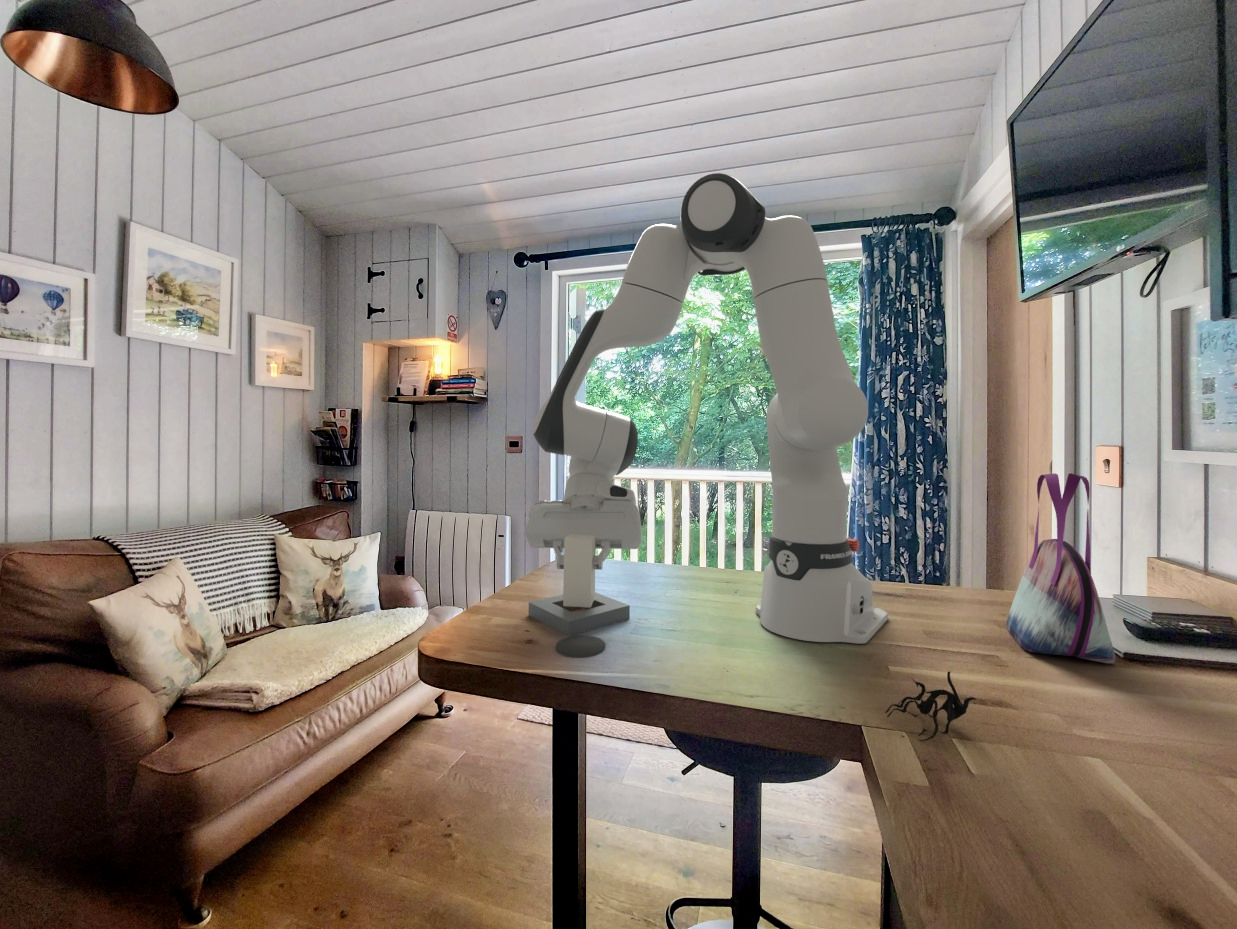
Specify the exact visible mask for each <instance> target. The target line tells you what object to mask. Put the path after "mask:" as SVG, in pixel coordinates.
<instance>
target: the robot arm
mask: <svg viewBox="0 0 1237 929" xmlns="http://www.w3.org/2000/svg"><path fill="white" fill-rule="evenodd" d="M679 216H680V217H679V219H680V224H679V225H673V224H669V223H659V224H654V225H651V226H649V227H647V228H646V229H645V230H644V231H643V232H642V234H641V236H640V237H639V239H638V242H637V243H636V246H635V247H634V249H633V251H632V254H631V257H630V259H629V260H628V263H627V266H626V269H625V271H624V273H623V277H622V279H621V280H622V281H621V284H620V287H619V288H618V291H617V293H616V295H615V296H614V298H613V299H612V301H611V302H610V303H609V304H608V305H607V306H606V307H605V308H601V309H596V310H595V311H594V312H593V313H592V314H591V315H590V317H589V318H588V319H587V321H586V323H585V325H584V326H583V328H582V331H581V332H580V334H579V336H578V338H577V340H576V342H575V343H574V345H573V347H572V350H571V351H570V353H569V355H568V358H567V360H566V361H565V363H564V366H563V368H562V370H561V371H560V373H559V376H558V378H557V380H556V383H555V384H554V386H553V388H552V390H551V392H550V394H549V396H548V397H547V399H546V400H545V402H544V403H543V404H542V405H541V407H540V409H539V410H538V412H537V414H536V417H535V420H534V424H533V437H534V439H535V440H536V442H537V444H538V445H539V446H540V448H541V449H542V450H543V451H544V452H545V453H549V454H550V453H551V454H555V455H560V456H564V455H565V456H569V457H570V459H569V466H568V472H569V477H568V478H567V480H566V484H565V490H564V496H563V500H539V502H536V503H534V504H532V505H531V506H530V508H529V511H528V512H529V513H528V520H527V522H526V524H525V525H526V526H525V529H524V531H523V532H524V533H523V534H524V539H525V542H526V543H527V545H528V546H529V547H530V548H531V549H553V551H554V554H555V556H556V558H557V559H556V568H557V570H564V554H562V553H564V538H566V537H567V536H568V535H569V534H573V535H595V540H596V549H598V550H599V549H601V551H600V552H599V553H598V555H595V556H593V569H595V571H597V570H603V565H604V562H605V560H607V558H608V557H609V555H610V554H611V551H612V550H614V549H615V550H618V549H620V550H637V549H639V548H640V547H641V545H642V544H643V534H642V523H641V515H640V510H639V508H638V506H637V500H636V495H635V492H634V490H633V489H631V488H630V487H629V488H628V487H624V486H622V485H621V486H620V485H616V484H613V479H614V477H615V476H618V475H620V474H622V473H623V472H624V471H625V470H627V469H628V468H629V467H630V466H631V464H632V463H633V462H634V459H635V457H636V454H637V449H638V439H639V432H638V429H637V427H636V424H635V422H634V421H633V419H632V418H631V417H629V416H626V415H623V414H621V413H617V412H614V411H610V410H606V409H603V408H602V409H601V408H599V407H594V406H592V405H590V404H589V405H588V404H585V403H582V402H579V401H578V400H577V399H576V396H577V393H579V390H580V387H581V386H582V384H583V381H584V379H585V378H586V375H587V374H588V371H589V370H590V368H591V366H592V364H593V362H594V361H595V359H596V358H597V357H598V356H599V355H600V354H601V353H604V352H606V351H609V350H613V349H620V348H637V347H638V348H639V347H646V346H650V345H654V344H656V343H659V342H661V341H663V340H664V339H666V338H667V337H668V336H669V335H670V334H671V333H672V331H673V329H674V328H675V326H676V324H677V322H678V319H679V317H680V314H681V311H682V309H683V305H684V303H685V302H684V301H685V299H686V297H687V293H688V291H689V290H688V289H689V286H690V284H691V282H692V280H693V279H694V278H695V276H696V275H697V274H699V275H700V276H703V277H705V276H717V275H718V276H723V275H725V276H726V275H736V274H738V273H741V272H743V271H745V270H746V272H747V275H748V277H749V282H750V285H751V292H752V298H753V299H752V301H753V304H754V310H755V316H756V317H755V318H756V321H757V322H756V323H757V328H758V335H759V341H760V345H761V351H762V353H763V355H764V356H765V358H766V361H767V364H768V366H769V370H770V372H771V373H770V374H771V376H772V378H773V379H772V380H773V382H774V386H775V389H776V394H774V396H773V397H772V398H771V400H770V402H769V403H768V407H767V410H766V416H765V421H766V427H767V429H766V430H767V431H766V432H767V448H768V457H769V468H770V473H771V485H772V505H771V506H772V508H771V509H772V513H771V514H772V519H771V524H772V525H771V527H772V528H771V535H770V536H769V541H768V546H767V548H768V558H769V559H770V562H769V563H768V564H766V565H765V567H764V568H763V569H764V570H763V579H762V589H761V596H760V598H761V599H760V604H756V606H755V613H756V614H757V615H758V616H759V617H760V618H759V622H760V624H761V625H762V626H763V627H764V628H765V629H766V630H768V631H770V632H772V633H775V634H777V635H780V636H783V637H787V638H790V639H795V640H800V641H804V642H805V641H806V642H814V643H815V642H816V643H851V644H861V645H862V644H863V645H864V644H866V643H868V642H869V641H870V639H872V637H873V636H874V635H875V634H876V633H877V632H878V630H880V629H881V628H882V626H884V624H885V623H886V622H887V621H888V619H889V614H888V612H887V611H885V610H884V609H882V608H879V607H876V606H874V605H873V586H872V583H871V581H870V580H868V579H867V577H866V576H864V575H863V574H862V572H860V571H859V569H857V567H856V566H855V565H854V564H853V563H852V562H853V561H854V560H853V554H852V552H854V553H857V552H858V551H859V549H860V547H859V546H860V542H859V540H858V539H855V538H852V539H850V538H849V537H847V526H848V525H847V519H848V518H847V516H848V489H847V485H846V483H845V480H844V478H843V473H842V467H841V464H840V457H839V451H838V448H840V447H843V446H845V445H846V444H848V443H850V442H851V441H853V440H854V439H855V438H856V437H857V436H858V435H859V434H860V433H861V432H862V430H863V429H864V427H865V426H866V423H867V420H868V417H869V403H868V400H867V398H866V395H865V393H864V392H863V390H862V389H861V388H860V386H859V385H858V384H857V383H856V381H855V379H854V376H853V373H852V371H851V368H850V365H849V364H848V361H847V358H846V356H845V352H844V351H843V348H842V344H841V343H840V342H841V341H840V339H839V335H838V333H837V332H838V331H837V329H836V327H837V326H836V324H835V323H836V322H835V318H834V316H835V315H834V312H833V306H832V300H831V295H830V288H829V282H828V277H827V272H826V266H825V263H824V259H823V256H822V253H821V249H820V245H819V243H818V240H817V238H816V237H817V236H816V235H815V232H814V229H813V228H812V226H811V224H810V223H809V222H808V221H807V220H806V219H804V218H803V217H800V216H798V215H797V216H796V215H782V216H778V217H774V218H767V217H766V209H765V206H764V205H763V204H762V203H761V202H760V201H759V200H758V199H757V198H756V197H755V196H754V195H753V193H752V192H751V191H750V190H749V189H748V188H747V187H746V186H745V185H744V184H743V183H742V182H740V180H738V179H737V178H735V177H733V176H732V175H728V174H727V173H726V174H725V173H721V172H717V173H716V172H715V173H711V174H710V173H709V174H706V175H704V176H702V177H701V178H698V179H697V180H696V181H695V182H694V183H693V184H692V185H691V186H690V187H689V189H687V192H686V193H685V195H684V197H683V199H682V201H681V206H680V215H679Z"/></svg>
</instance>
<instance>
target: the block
mask: <svg viewBox="0 0 1237 929" xmlns="http://www.w3.org/2000/svg"><path fill="white" fill-rule="evenodd" d="M596 553H597V550H596V540H595V535H573V534H569V535H568V536H567V537H566V538H564V548H563V555H564V569H563V586H562V588H563V592H562V595H563V606H570V607H589V608H591V606H592V604H593V602H594V600H595V592H596V569H593V556H597V555H596Z"/></svg>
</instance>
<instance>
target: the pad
mask: <svg viewBox="0 0 1237 929" xmlns="http://www.w3.org/2000/svg"><path fill="white" fill-rule="evenodd" d="M555 644H556V645H555V650H556V652H557V653H559V654H560V655H562V656H564V657H565V656H566V657H570V658H587V657H593V656H596V655H599V654H601V653H602V652H604V651H605V649H606V642H605V641H604V640H603V639H602V638H600V637H596V636H593V635H584V634H583V635H571V636H567V637H565V638H562V639H560V640H558V642H557V643H555Z"/></svg>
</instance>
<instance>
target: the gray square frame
mask: <svg viewBox="0 0 1237 929" xmlns="http://www.w3.org/2000/svg"><path fill="white" fill-rule="evenodd" d="M630 612H631V611H630V604H628V603H625V602H622V601H619V600H617V599H613V598H611V597H608V596H606V595H604V594H601V593H598V592H596V591H595V600H594V602H593V604H592V606H591V608H589V607H570V606H563V594H560V595H559V594H558V595H554V596H550V597H545V598H541V599H540V598H539V599H537V600H533V601H529V602H528V616H529V617H531V618H532V619H535V620H537V621H539V622H540V623H543V624H545V625H546V626H549V627H550V628H552V629H555V630H556V631H558V632H560V633H562V634H564V635H565V636H567V637H571V636H576V635H578V634H582V633H585V632H588V631H592V630H595V629H598V628H602V627H606V626H609V625H612V624H616V623H621V622H622V621H627V620H630V618H631V616H630Z"/></svg>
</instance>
